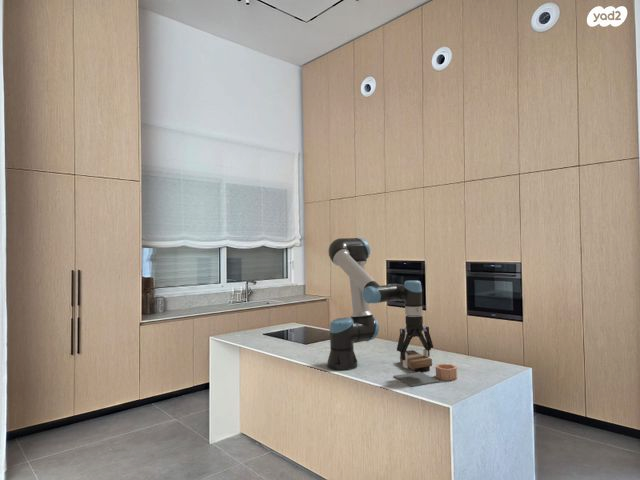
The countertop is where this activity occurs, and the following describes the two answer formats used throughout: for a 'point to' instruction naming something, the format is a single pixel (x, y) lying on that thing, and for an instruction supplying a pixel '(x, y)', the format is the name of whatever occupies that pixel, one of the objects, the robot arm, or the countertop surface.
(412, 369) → the beverage carton
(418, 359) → the lid
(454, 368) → the pot
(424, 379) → the mat
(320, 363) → the countertop surface
